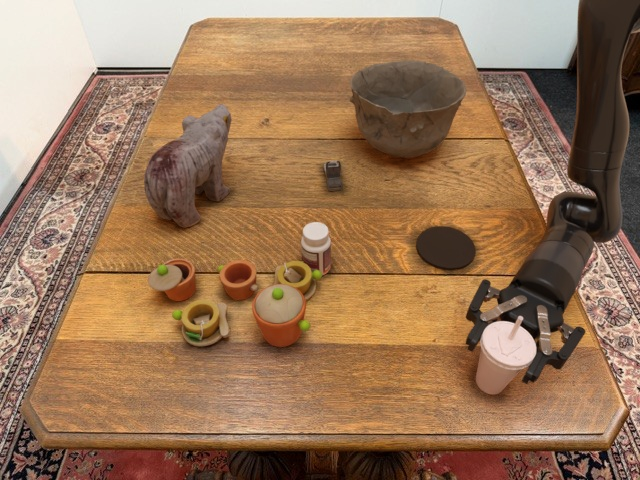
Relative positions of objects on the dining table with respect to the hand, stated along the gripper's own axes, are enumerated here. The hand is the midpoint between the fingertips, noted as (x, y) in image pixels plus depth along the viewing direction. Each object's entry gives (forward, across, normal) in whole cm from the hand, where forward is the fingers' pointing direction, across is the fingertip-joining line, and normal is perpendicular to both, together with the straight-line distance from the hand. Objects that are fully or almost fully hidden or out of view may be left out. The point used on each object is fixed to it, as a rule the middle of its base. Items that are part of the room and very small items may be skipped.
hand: (498, 362), depth 57 cm
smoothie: (-2, 0, +8) cm, 9 cm away
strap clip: (-25, -44, +8) cm, 51 cm away
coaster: (-21, -16, +8) cm, 28 cm away
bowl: (-43, -39, +8) cm, 58 cm away
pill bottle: (-4, -32, +8) cm, 33 cm away
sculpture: (-4, -60, +8) cm, 61 cm away
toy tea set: (+10, -36, +8) cm, 38 cm away
